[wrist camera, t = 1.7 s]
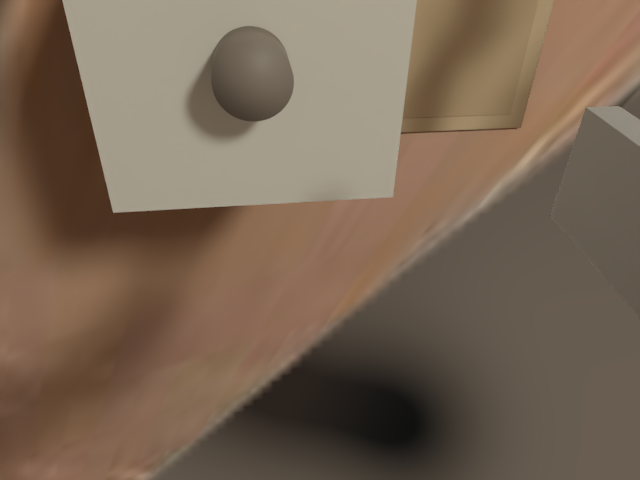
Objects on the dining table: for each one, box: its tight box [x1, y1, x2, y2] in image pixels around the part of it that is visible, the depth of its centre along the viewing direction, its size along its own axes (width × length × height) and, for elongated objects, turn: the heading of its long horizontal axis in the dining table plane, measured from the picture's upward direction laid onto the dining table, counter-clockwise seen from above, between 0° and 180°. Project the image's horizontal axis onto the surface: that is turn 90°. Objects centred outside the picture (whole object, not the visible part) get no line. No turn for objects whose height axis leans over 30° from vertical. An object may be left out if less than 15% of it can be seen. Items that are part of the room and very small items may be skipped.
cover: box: [62, 0, 417, 213], centre depth 22 cm, size 10×10×16 cm
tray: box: [401, 0, 554, 132], centre depth 32 cm, size 11×11×1 cm
